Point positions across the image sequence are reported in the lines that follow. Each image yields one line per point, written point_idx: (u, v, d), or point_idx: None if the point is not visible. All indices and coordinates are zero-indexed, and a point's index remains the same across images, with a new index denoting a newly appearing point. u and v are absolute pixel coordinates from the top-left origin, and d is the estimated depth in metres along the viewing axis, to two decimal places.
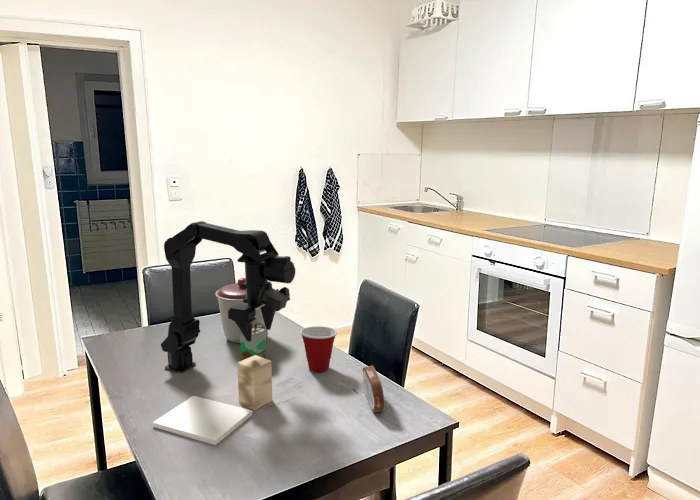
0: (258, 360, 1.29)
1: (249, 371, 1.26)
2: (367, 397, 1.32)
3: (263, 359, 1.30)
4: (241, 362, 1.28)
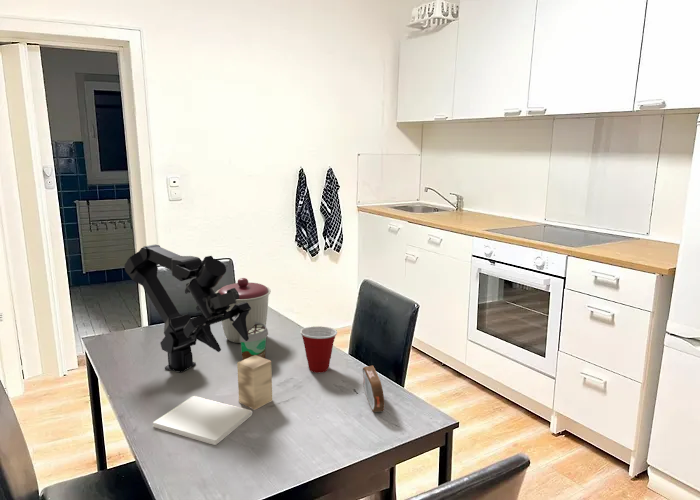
0: (258, 360, 1.29)
1: (250, 371, 1.26)
2: (367, 397, 1.32)
3: (263, 359, 1.30)
4: (241, 362, 1.28)
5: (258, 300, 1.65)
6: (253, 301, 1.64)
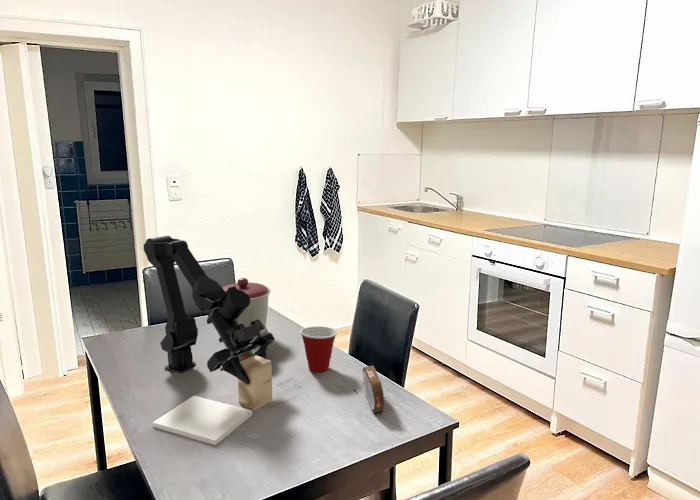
0: (258, 360, 1.29)
1: (250, 371, 1.26)
2: (367, 397, 1.32)
3: (263, 359, 1.30)
4: (241, 362, 1.28)
5: (258, 300, 1.65)
6: (253, 301, 1.64)
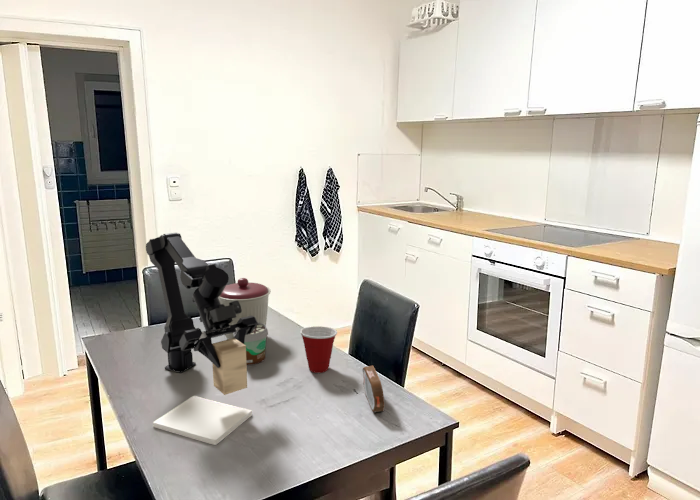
0: (233, 344, 1.23)
1: (220, 353, 1.19)
2: (367, 397, 1.32)
3: (239, 343, 1.23)
4: (215, 344, 1.22)
5: (258, 300, 1.65)
6: (253, 301, 1.64)
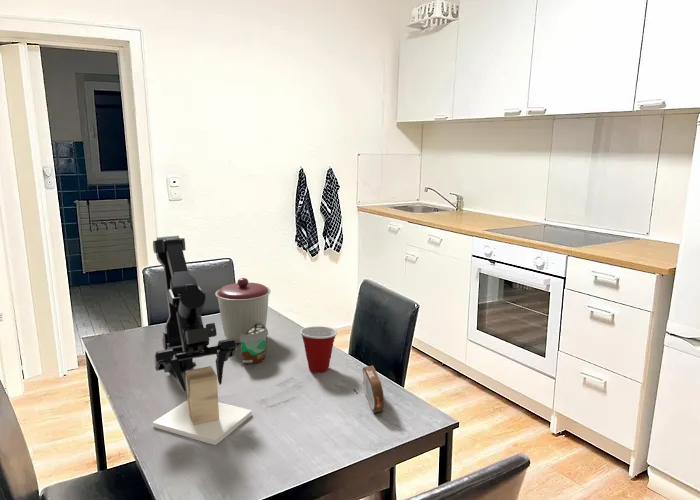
0: (205, 373, 1.20)
1: (189, 382, 1.17)
2: (367, 397, 1.32)
3: (211, 372, 1.20)
4: (189, 371, 1.20)
5: (258, 300, 1.65)
6: (253, 301, 1.64)
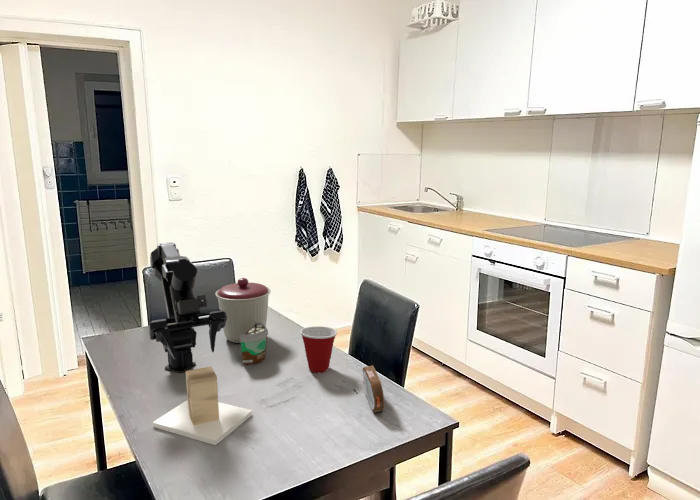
0: (206, 373, 1.19)
1: (189, 383, 1.17)
2: (367, 397, 1.32)
3: (212, 373, 1.20)
4: (189, 371, 1.20)
5: (258, 300, 1.65)
6: (253, 301, 1.64)
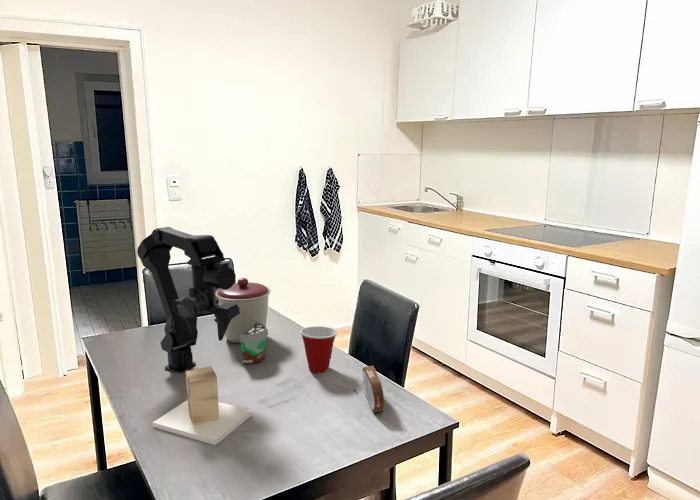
0: (206, 373, 1.19)
1: (189, 383, 1.17)
2: (367, 397, 1.32)
3: (212, 373, 1.20)
4: (189, 371, 1.20)
5: (258, 300, 1.65)
6: (253, 301, 1.64)
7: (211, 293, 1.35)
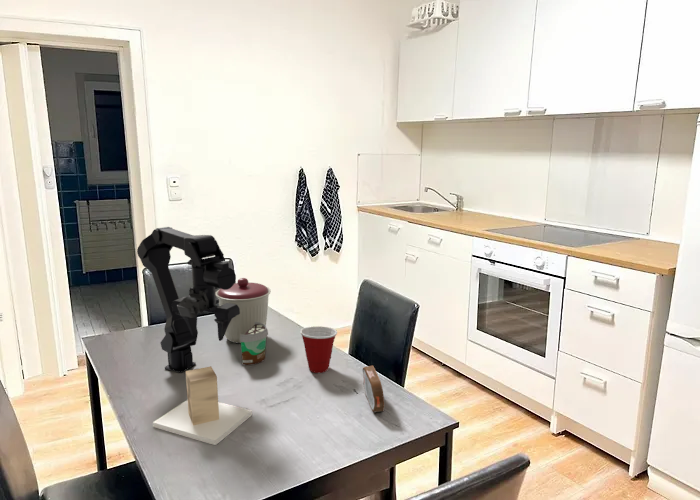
0: (206, 373, 1.19)
1: (189, 383, 1.17)
2: (367, 397, 1.32)
3: (212, 373, 1.20)
4: (189, 371, 1.20)
5: (258, 300, 1.65)
6: (253, 301, 1.64)
7: (211, 293, 1.35)
